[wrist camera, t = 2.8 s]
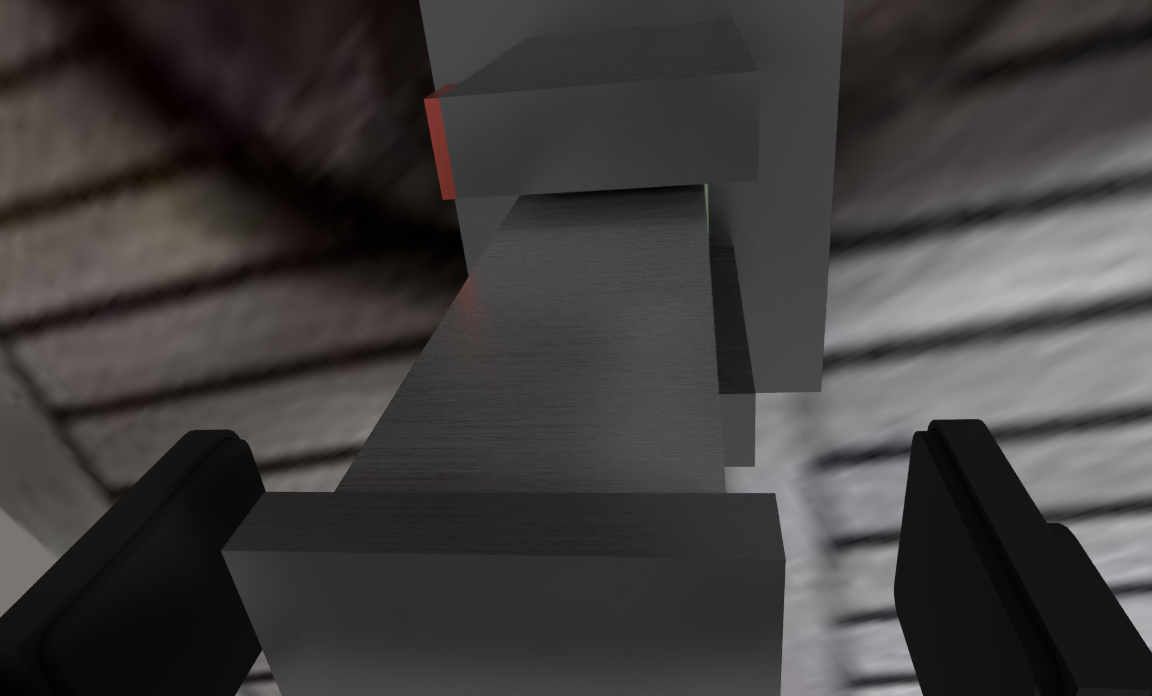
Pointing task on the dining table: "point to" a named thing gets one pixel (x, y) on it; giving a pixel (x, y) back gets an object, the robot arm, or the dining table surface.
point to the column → (538, 489)
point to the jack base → (661, 147)
